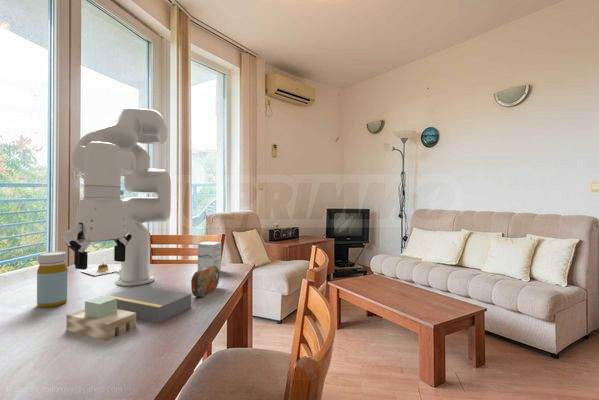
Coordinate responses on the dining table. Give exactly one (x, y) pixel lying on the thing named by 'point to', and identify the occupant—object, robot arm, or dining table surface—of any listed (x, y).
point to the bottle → (52, 279)
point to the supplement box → (209, 255)
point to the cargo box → (100, 306)
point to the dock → (152, 302)
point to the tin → (205, 281)
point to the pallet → (101, 324)
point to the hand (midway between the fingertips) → (101, 264)
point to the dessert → (100, 269)
